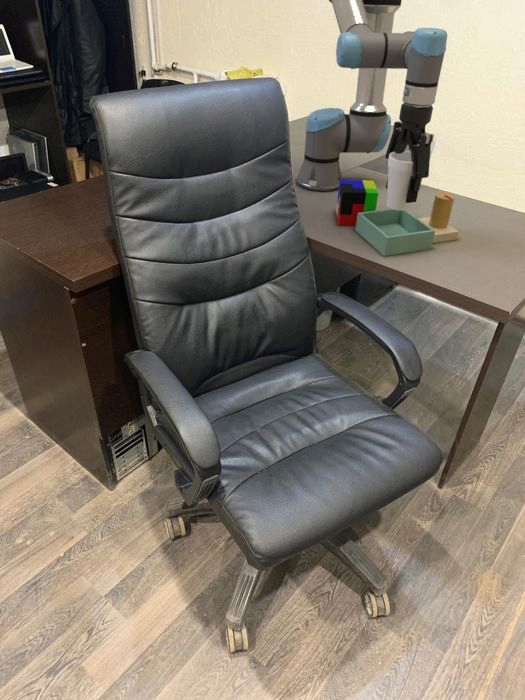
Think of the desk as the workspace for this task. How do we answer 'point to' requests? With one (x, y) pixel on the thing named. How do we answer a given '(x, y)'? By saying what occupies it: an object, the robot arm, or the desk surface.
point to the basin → (394, 231)
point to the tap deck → (442, 232)
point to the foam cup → (399, 180)
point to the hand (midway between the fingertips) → (400, 194)
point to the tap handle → (441, 210)
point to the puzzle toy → (355, 200)
